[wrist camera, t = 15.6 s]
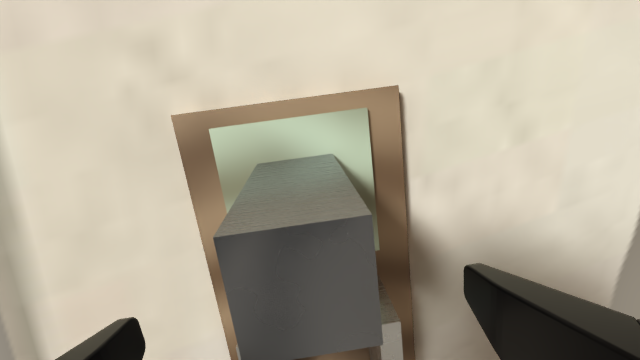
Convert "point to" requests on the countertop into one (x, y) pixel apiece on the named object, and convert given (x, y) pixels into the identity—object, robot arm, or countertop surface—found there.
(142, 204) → the countertop surface
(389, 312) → the socket
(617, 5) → the countertop surface
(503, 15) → the countertop surface
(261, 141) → the stand board
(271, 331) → the steel key
